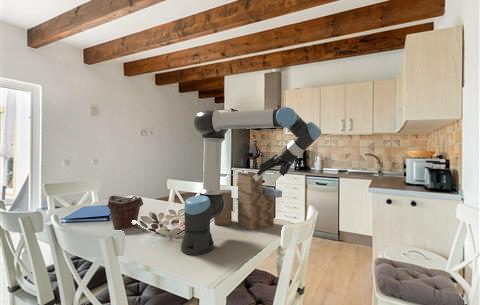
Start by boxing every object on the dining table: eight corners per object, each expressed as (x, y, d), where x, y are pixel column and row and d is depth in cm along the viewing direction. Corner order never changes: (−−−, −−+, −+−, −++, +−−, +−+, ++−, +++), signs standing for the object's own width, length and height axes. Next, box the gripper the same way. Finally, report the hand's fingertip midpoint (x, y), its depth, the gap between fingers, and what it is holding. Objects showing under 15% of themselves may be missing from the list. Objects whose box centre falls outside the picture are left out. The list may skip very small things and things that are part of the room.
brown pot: (148, 224, 149) (147, 195, 149) (112, 232, 136) (111, 200, 136) (137, 218, 163) (137, 191, 162) (103, 225, 149) (103, 196, 149)
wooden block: (216, 220, 159) (216, 189, 158) (231, 220, 158) (231, 189, 158) (213, 225, 149) (213, 192, 148) (230, 225, 149) (230, 192, 148)
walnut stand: (250, 229, 140) (250, 174, 140) (237, 222, 154) (237, 172, 154) (273, 225, 148) (273, 173, 147) (259, 218, 162) (259, 171, 161)
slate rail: (276, 197, 135) (276, 191, 135) (252, 190, 158) (252, 184, 158) (281, 197, 136) (281, 190, 136) (257, 189, 160) (257, 184, 160)
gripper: (281, 152, 103) (250, 184, 112) (310, 160, 121) (281, 187, 130) (272, 140, 108) (243, 172, 117) (301, 149, 125) (274, 176, 134)
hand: (263, 180), depth 123 cm, fingers open, 13 cm apart
